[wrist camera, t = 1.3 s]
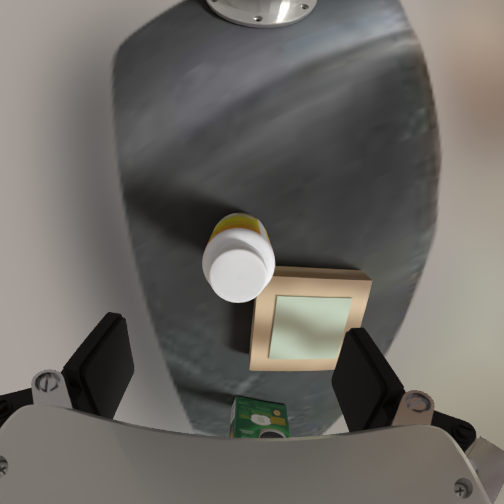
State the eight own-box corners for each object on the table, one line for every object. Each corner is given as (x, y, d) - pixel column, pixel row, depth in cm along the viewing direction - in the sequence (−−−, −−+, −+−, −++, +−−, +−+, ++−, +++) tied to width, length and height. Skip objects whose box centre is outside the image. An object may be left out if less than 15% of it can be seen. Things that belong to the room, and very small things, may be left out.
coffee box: (228, 405, 36) (225, 480, 23) (234, 393, 35) (232, 471, 22) (279, 414, 37) (288, 485, 24) (286, 403, 36) (298, 477, 23)
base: (257, 264, 29) (258, 276, 26) (361, 270, 30) (373, 281, 27) (249, 354, 33) (249, 371, 30) (339, 354, 33) (347, 369, 30)
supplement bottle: (201, 234, 28) (180, 269, 18) (244, 200, 27) (245, 219, 17) (235, 274, 29) (231, 326, 20) (277, 243, 29) (295, 283, 19)
